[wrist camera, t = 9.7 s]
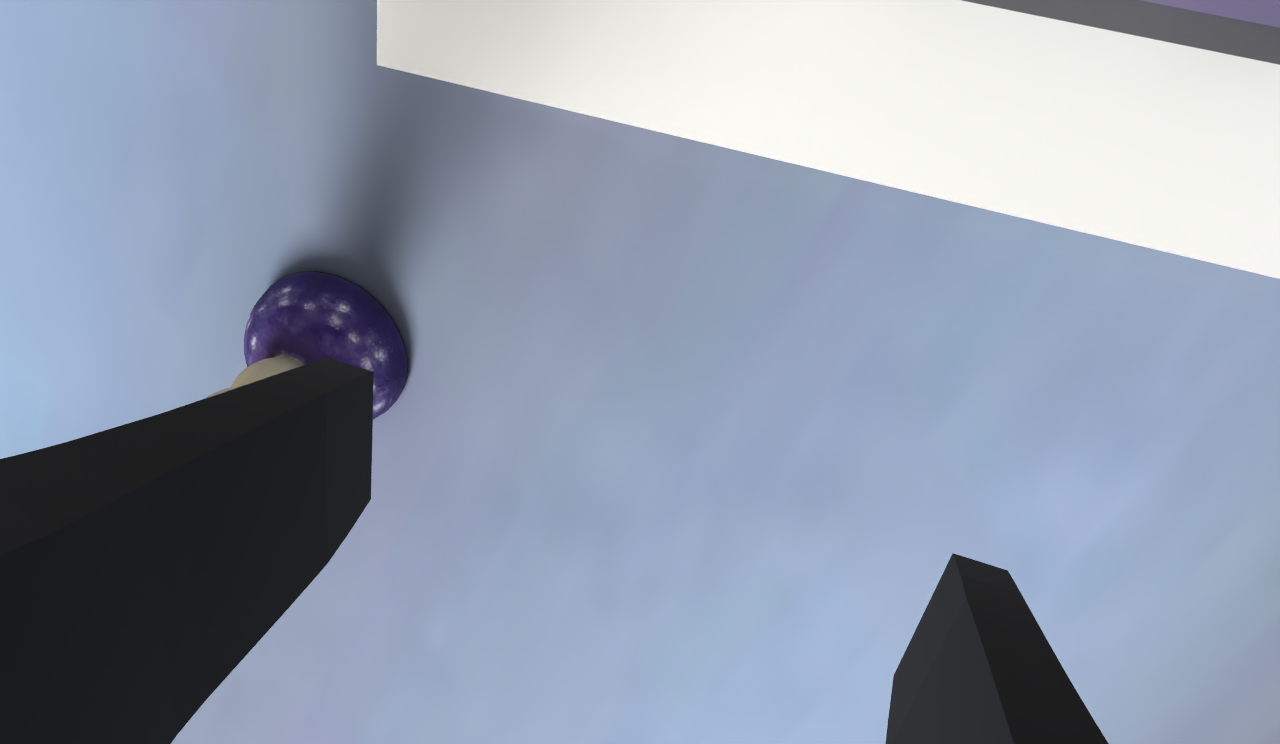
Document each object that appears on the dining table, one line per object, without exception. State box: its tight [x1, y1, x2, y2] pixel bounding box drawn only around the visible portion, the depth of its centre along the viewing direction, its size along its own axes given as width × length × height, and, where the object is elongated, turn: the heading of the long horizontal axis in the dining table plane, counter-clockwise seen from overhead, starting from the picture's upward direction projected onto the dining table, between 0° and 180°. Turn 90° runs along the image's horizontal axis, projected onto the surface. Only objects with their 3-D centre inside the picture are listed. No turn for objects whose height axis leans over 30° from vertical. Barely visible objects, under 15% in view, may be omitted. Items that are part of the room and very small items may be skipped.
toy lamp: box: [205, 272, 407, 419], centre depth 16 cm, size 5×5×17 cm
